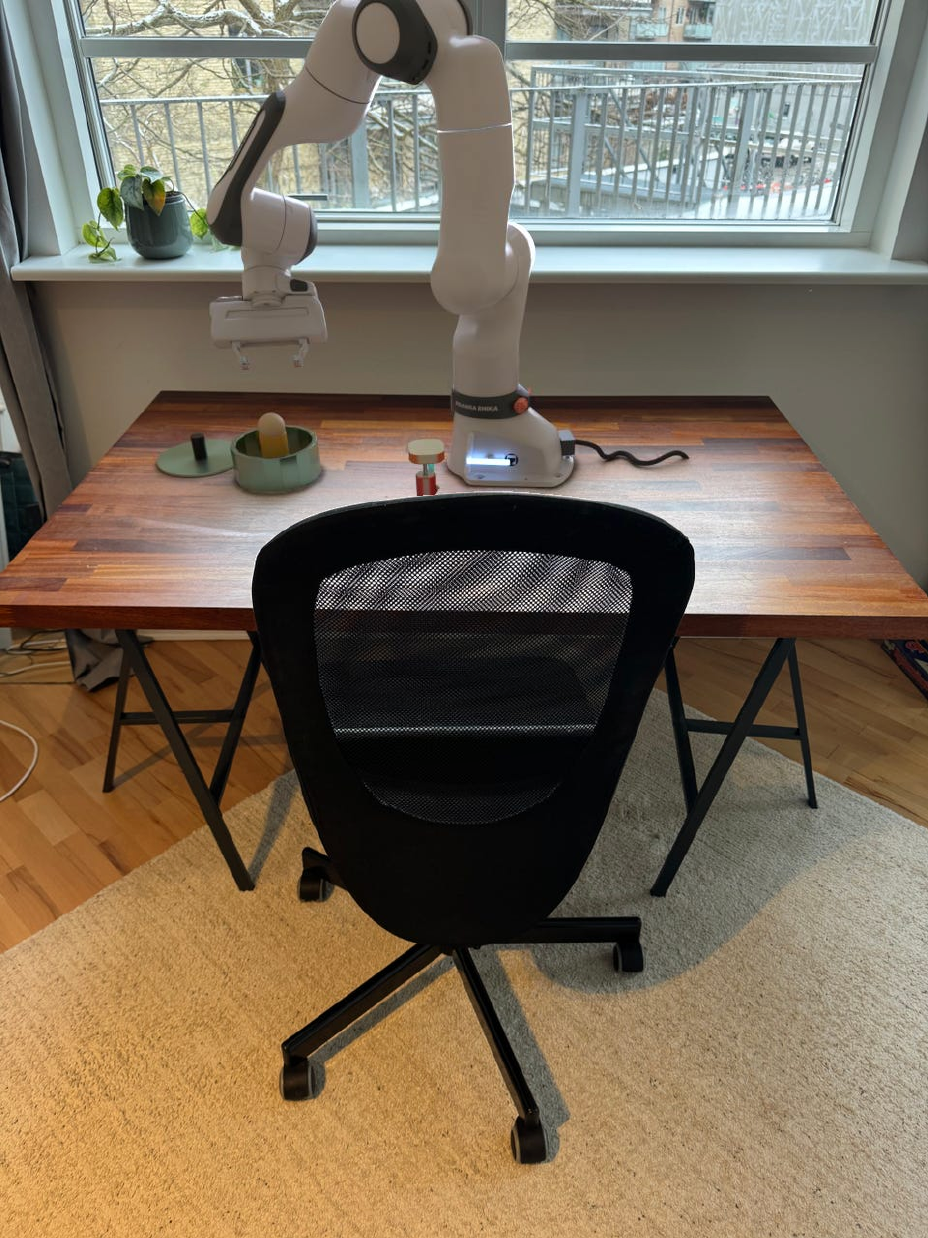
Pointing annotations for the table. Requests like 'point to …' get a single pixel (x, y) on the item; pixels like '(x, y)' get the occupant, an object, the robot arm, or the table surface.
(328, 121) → the robot arm
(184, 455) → the lid
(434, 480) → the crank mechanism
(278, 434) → the toy
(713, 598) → the table surface
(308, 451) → the pot
